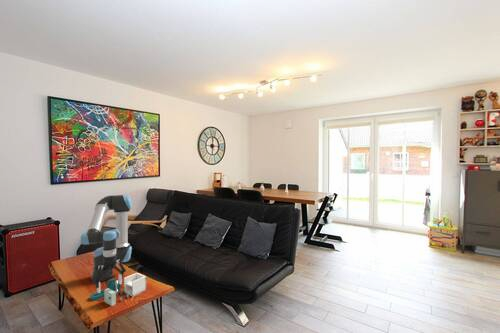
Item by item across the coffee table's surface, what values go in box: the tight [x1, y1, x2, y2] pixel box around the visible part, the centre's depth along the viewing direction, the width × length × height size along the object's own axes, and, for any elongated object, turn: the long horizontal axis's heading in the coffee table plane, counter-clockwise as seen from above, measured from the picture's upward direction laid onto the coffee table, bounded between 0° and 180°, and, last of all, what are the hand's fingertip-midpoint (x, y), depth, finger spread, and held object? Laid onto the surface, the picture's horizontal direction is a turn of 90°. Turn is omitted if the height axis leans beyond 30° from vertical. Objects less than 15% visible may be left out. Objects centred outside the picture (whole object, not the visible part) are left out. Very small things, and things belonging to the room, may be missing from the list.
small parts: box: [115, 279, 130, 302], centre depth 166 cm, size 11×5×10 cm, turn 57°
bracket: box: [89, 278, 122, 302], centre depth 170 cm, size 18×7×8 cm, turn 142°
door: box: [103, 287, 117, 307], centre depth 159 cm, size 9×4×8 cm, turn 57°
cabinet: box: [123, 272, 147, 297], centre depth 174 cm, size 11×10×10 cm
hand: (109, 287), depth 159 cm, fingers open, 13 cm apart
